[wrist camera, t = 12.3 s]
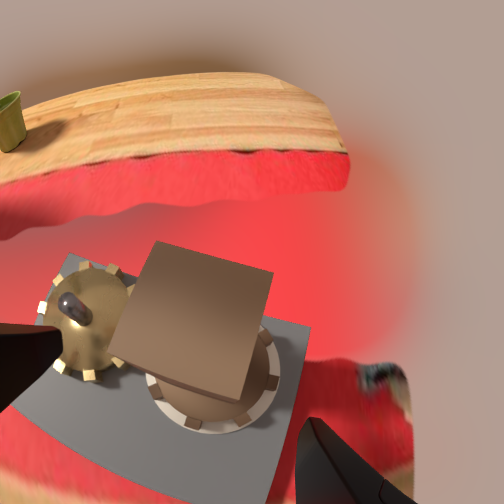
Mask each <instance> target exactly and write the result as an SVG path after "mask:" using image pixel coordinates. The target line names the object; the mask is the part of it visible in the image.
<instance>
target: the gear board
mask: <svg viewBox="0 0 504 504" xmlns="http://www.w3.org/2000/svg"><path fill="white" fill-rule="evenodd" d="M84 261H90V260H88V259H85V258H82V257H80V256H77V255H75V254H72V253H69V254H68V256H67V258H66V260H65V261H64V263H63V265H62V267H61V269H60V271H59V273H58V274H57V276H58V275H59V274H61V275H62V276H63V277H64V278H66V277H67V276H68V275H70V274H72V273H74V272H76V271H79V262H84ZM90 262H91V264H92V265H93V266H94V268H97V269H102V270H106V269H107V266H104V265H101V264H98V263H96V262H93V261H90ZM123 274H124V275H125V276H124V277H123V279H122V282H123V284H124V285H125V286H126V288H128V287H129V286H131V285H133V284H136V281H137V279H138V277H135V276H132V275H129V274H127V273H124V272H123ZM57 276H56V277H57ZM55 287H56V286H55V284H54V283H53V284H52V286H51V288H50V290H49V292H48V295H47V297H46V299H45V301H44V302H46V303H47V301H48V298H49V296H50V295H51V293H52V291H53V290H54V288H55ZM34 325H43V315H41V314H40V313H39V314H38V316H37V319H36V321H35V324H34ZM266 328H267V330H268V332H269V333H270V335H271V336H272V338H273V342H272V344H271V345H269V346H268V347H266V349H267V352H268V356H269V363H270V373H269V374H271V375H275V376H280V378H279V382H278V386H277V389H276V391H269V390H264V392H263V394H262V396H261V397H260V399H259V400H258V401H257V403H256V404H255V405H254V406H253V407H252V408H250V409H249V410H248V411H247V413H248V415H249V416H250V418H251V419H252V421H250V422H248V423H247V424H245V425H243V426H241V427H238V425H237V424H236V422H235V420H234V419H230V420H226V421H221V422H205V421H203V422H202V426H201V429H200V430H195V429H191V428H188V427H186V426H184V423H185V420H186V417H187V416H185V415H183V414H182V413H180V412H178V411H177V410H176V409H174V408H173V407H172V406H171V405H170V404H169V403H168V402H167V401H166V399H165V398H163V399H161V400H159V401H158V400H153V398H152V396H151V394H150V392H149V389H148V386H150V385H153V384H155V383H156V380H155V377H153V376H151V375H149V374H147V373H145V372H143V371H141V370H139V369H137V368H135V367H133V366H130V367H129V368H128V369H127V370H126V371H124V370H122V369H120V368H118V367H117V366H116V367H114V368H112V369H110V370H108V371H105V372H102V377H103V382H100V383H90V382H87V381H84V376H83V372H80V371H77V370H73V372H72V375H71V377H70V376H67V375H64V374H61V373H60V372H59V371H57V370H56V369H55V368H54V367H53V366H54V364H55V362H54V363H53V364H52V365H51V367H50V368H49V369H48V370H47V371H46V372H45V373H44V374H43V375H42V376H41V377H40V378H39V379H38V380H37V381H36V382H35V383H33V384H32V385H31V386H30V387H29V388H28V389H27V390H25V391H24V392H23V393H22V394H21V395H20V396H19V397H18V398H17V399H15V400H14V401H13V402H12V403H11V405H12V406H13V407H14V408H15V409H16V410H18V411H19V412H20V413H21V414H23V415H24V416H25V417H26V418H28V419H29V420H30V421H31V422H33V423H34V424H35V425H37V426H38V427H39V428H41V429H42V430H43V431H45V432H46V433H48V434H49V435H51V436H52V437H53V438H55V439H56V440H58V441H59V442H61V443H62V444H64V445H65V446H67V447H69V448H70V449H72V450H73V451H75V452H77V453H78V454H80V455H82V456H83V457H85V458H87V459H89V460H90V461H92V462H94V463H96V464H98V465H100V466H101V467H103V468H105V469H107V470H109V471H111V472H113V473H115V474H117V475H119V476H121V477H124V478H126V479H128V480H130V481H132V482H135V483H137V484H139V485H142V486H144V487H146V488H149V489H151V490H154V491H157V492H159V493H162V494H165V495H167V496H170V497H173V498H176V499H179V500H182V501H185V502H189V503H192V504H265V502H266V499H267V496H268V493H269V490H270V487H271V484H272V481H273V478H274V475H275V471H276V468H277V465H278V462H279V458H280V455H281V451H282V448H283V444H284V441H285V437H286V433H287V430H288V426H289V422H290V418H291V415H292V411H293V407H294V403H295V399H296V394H297V390H298V386H299V382H300V377H301V373H302V369H303V364H304V359H305V354H306V350H307V345H308V340H309V335H310V330H311V327H308V326H304V325H300V324H296V323H292V322H288V321H284V320H280V319H276V318H272V317H268V316H264V315H263V317H262V320H261V324H260V328H259V331H258V333H259V332H261V331H262V330H264V329H266Z"/></svg>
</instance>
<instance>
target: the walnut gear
mask: <svg viewBox="0 0 504 504" xmlns="http://www.w3.org/2000/svg"><path fill="white" fill-rule="evenodd" d="M273 274H274V273H273V272H268V271H265V270H262V269H258V268H254V267H251V266H246V265H243V264H239V263H236V262H232V261H228V260H225V259H221V258H217V257H214V256H210V255H206V254H203V253H199V252H196V251H192V250H188V249H185V248H181V247H178V246H174V245H171V244H167V243H163V242H159V241H156V242H155V244H154V246H153V248H152V250H151V252H150V254H149V256H148V258H147V260H146V263H145V265H144V267H143V269H142V271H141V273H140V275H139V277H138V279H137V281H136V284H135V286H134V288H133V290H132V292H131V295H130V297H129V299H128V301H127V304H126V306H125V308H124V311H123V313H122V315H121V318H120V320H119V322H118V325H117V327H116V330H115V332H114V335H113V337H112V340H111V342H110V345H109V347H108V350H107V352H108V353H109V354H111V355H113V356H115V357H116V358H118V359H120V360H122V361H124V362H126V363H128V364H129V365H131V366H133V367H135V368H137V369H139V370H141V371H143V372H145V373H147V374H149V375H151V376H153V377H155V380H156V383H155V384H153V385H150V386H148V389H149V392H150V394H151V396H152V398H153V400H158V401H159V400H161V399H163V398H165V399H166V401H167V402H168V403H169V404H170V405H171V406H172V407H173V408H174V409H176V410H177V411H178V412H180V413H182V414H183V415H185V416H187V417H186V420H185V423H184V426H186V427H188V428H191V429H195V430H200V429H201V426H202V422H203V421H205V422H221V421H226V420H230V419H234V420H235V422H236V424H237V425H238V427H241V426H243V425H245V424H247V423H248V422H250V421H252V419H251V418H250V416H249V415H248V413H247V411H248V410H249V409H250V408H252V407H253V406H254V405H255V404H256V403H257V401H258V400H259V399H260V397H261V396H262V394H263V392H264V390H269V391H276V389H277V386H278V382H279V378H280V376H275V375H271V374H269V373H270V363H269V356H268V352H267V349H266V347H268V346H269V345H271V344H272V342H273V338H272V336H271V335H270V333H269V332H268V330H267V328H266V329H264V330H262V331H261V332H259V333H258V331H259V328H260V324H261V320H262V317H263V312H264V309H265V305H266V301H267V298H268V294H269V290H270V286H271V282H272V278H273Z"/></svg>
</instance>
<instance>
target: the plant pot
mask: <svg viewBox="0 0 504 504" xmlns="http://www.w3.org/2000/svg"><path fill="white" fill-rule="evenodd" d="M20 95H21V93H20V91H15V92H12V93H10V94H8V95H6V96H4V97H3V98H1V99H0V150H1V151H3V152H8V151H10V150H12V149H14V148H15V147H17V146H18V144H19V143H20V142H21V141H23V140H24V139H25V137H26V135H27V131H26V127H25V123H24V119H23V115H22V110H21V106H20Z"/></svg>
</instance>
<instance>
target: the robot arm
mask: <svg viewBox="0 0 504 504" xmlns="http://www.w3.org/2000/svg"><path fill="white" fill-rule="evenodd" d="M62 353H63V339H62V332H61V330H60V329H58V328H56V327H54V326H43V325H22V324H7V323H0V413H1V412H2V411H3V410H4V409H6V408H7V407H8V406H9V405H10V404H11V403H12V402H13V401H14V400H15V399H17V398H18V397H19V396H20V395H21V394H22V393H23V392H24V391H25V390H27V389H28V388H29V387H30V386H31V385H32V384H33V383H35V382H36V381H37V380H38V379H39V378H40V377H41V376H42V375H43V374H44V373H45V372H46V371H47V370H48V369H49V368H50V367H51V365H52V364H53V363H54V362H55V361H56V360H57V359H58V358H59V357H60V356H61V354H62ZM295 489H296V504H417V503H416V502H415V501H413V500H412V499H410V498H409V497H407V496H406V495H405V494H403V493H402V492H401V491H400V490H398V489H397V488H396V487H395V486H393V485H392V484H391V483H390V482H389V481H388V480H386V479H384V477H382V476H381V475H380V474H379V473H378V472H377V471H376V470H375V469H373V468H372V467H371V466H370V465H369V464H368V463H367V462H366V461H365V460H364V459H362V458H361V457H360V456H359V455H358V454H357V453H356V452H355V451H354V450H353V449H352V448H351V447H350V446H349V445H348V444H347V443H345V442H344V441H343V440H342V439H341V438H340V437H339V436H338V435H337V434H336V433H335V432H334V431H333V430H332V429H331V428H330V427H329V426H328V425H327V424H326V423H325V422H324V421H323V420H322V419H321V418H316V417H308V419H307V420H306V422H305V424H304V426H303V427H302V429H301V431H300V433H299V436H298V444H297V454H296V465H295Z"/></svg>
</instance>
